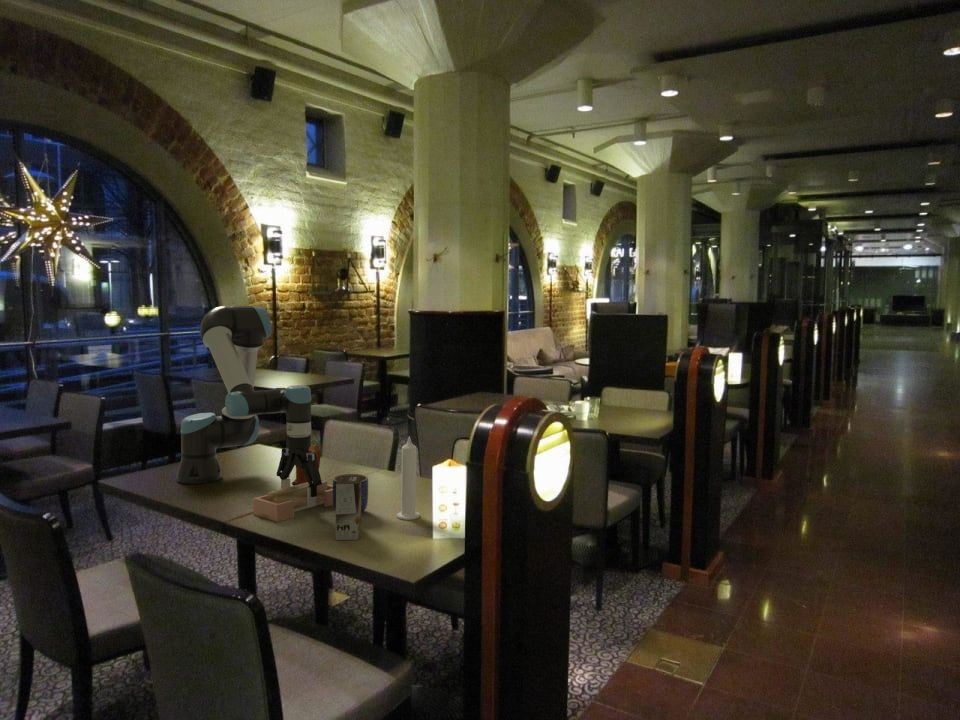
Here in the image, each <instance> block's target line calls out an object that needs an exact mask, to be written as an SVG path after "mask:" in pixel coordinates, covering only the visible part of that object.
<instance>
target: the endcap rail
mask: <svg viewBox="0 0 960 720" xmlns="http://www.w3.org/2000/svg"><path fill="white" fill-rule="evenodd" d="M252 503H253V507H252V508H253V515H255V516H257V517H262V518H265V519H267V520H270V521H274V522H277V523H278V522H281V521H284V520H288V519H292V518H294V517H295V513H296V512H299V511H302V510H306V509H309V508H308V507H307V505H306V506H303V507H300V508H296V509H294V501H293V500H290V501H286V502H282V503H279V504H277V503H274V502H271V501H268V494H264V495H261V496H256V497H253V502H252ZM320 505H323V507H325V508H329V507H331V506H334V505H333V484H328V483H327V490H326V491H324V501H320V502H317V503H316V506H320ZM316 506H315V507H316Z"/></svg>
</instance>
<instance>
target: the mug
mask: <svg viewBox="0 0 960 720" xmlns="http://www.w3.org/2000/svg"><path fill="white" fill-rule="evenodd" d="M319 447H320V446H319V445H318V444H311V447H310V448H309V454H314V453H315V454H316V461H317V465H318V469H319V470H320V465H321V451H320V448H319ZM305 464H306V463H305ZM294 467H295V478H294V481H292V482H291V485H292V486H295V485H299V484H303V483H307V482H308V481H307V479H306V476H305V474H304V472H303V469H302V468H300V466H299V465H297V464H295V466H294Z"/></svg>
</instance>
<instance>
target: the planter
mask: <svg viewBox="0 0 960 720" xmlns="http://www.w3.org/2000/svg"><path fill="white" fill-rule="evenodd" d="M347 475H359V476H361V515H362V514H363V513H364V512H365V510H366V509H367V506H368V501H369V477H368V476H367V475H365V474H359V473H345V474H339V475H336V476H334V477H333V478H332V485H333V505H332V506H333V508H334V510H335V511H336V482H337V480H338V479H339V477H340V476H347Z"/></svg>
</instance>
